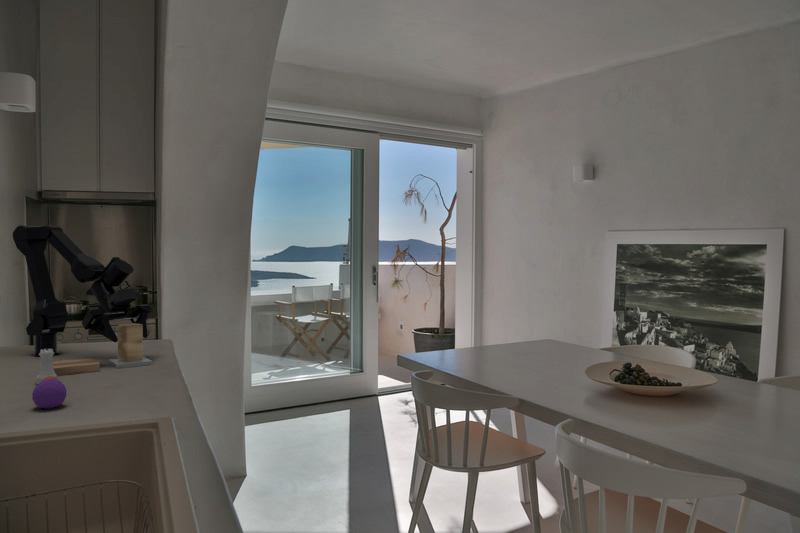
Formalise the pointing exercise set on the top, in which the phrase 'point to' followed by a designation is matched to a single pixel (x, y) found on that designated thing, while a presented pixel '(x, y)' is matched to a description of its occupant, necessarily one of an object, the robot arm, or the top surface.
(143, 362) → the slate tile
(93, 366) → the walnut ledge
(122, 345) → the oak block
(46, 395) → the purple round ball
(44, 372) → the rook chess piece
